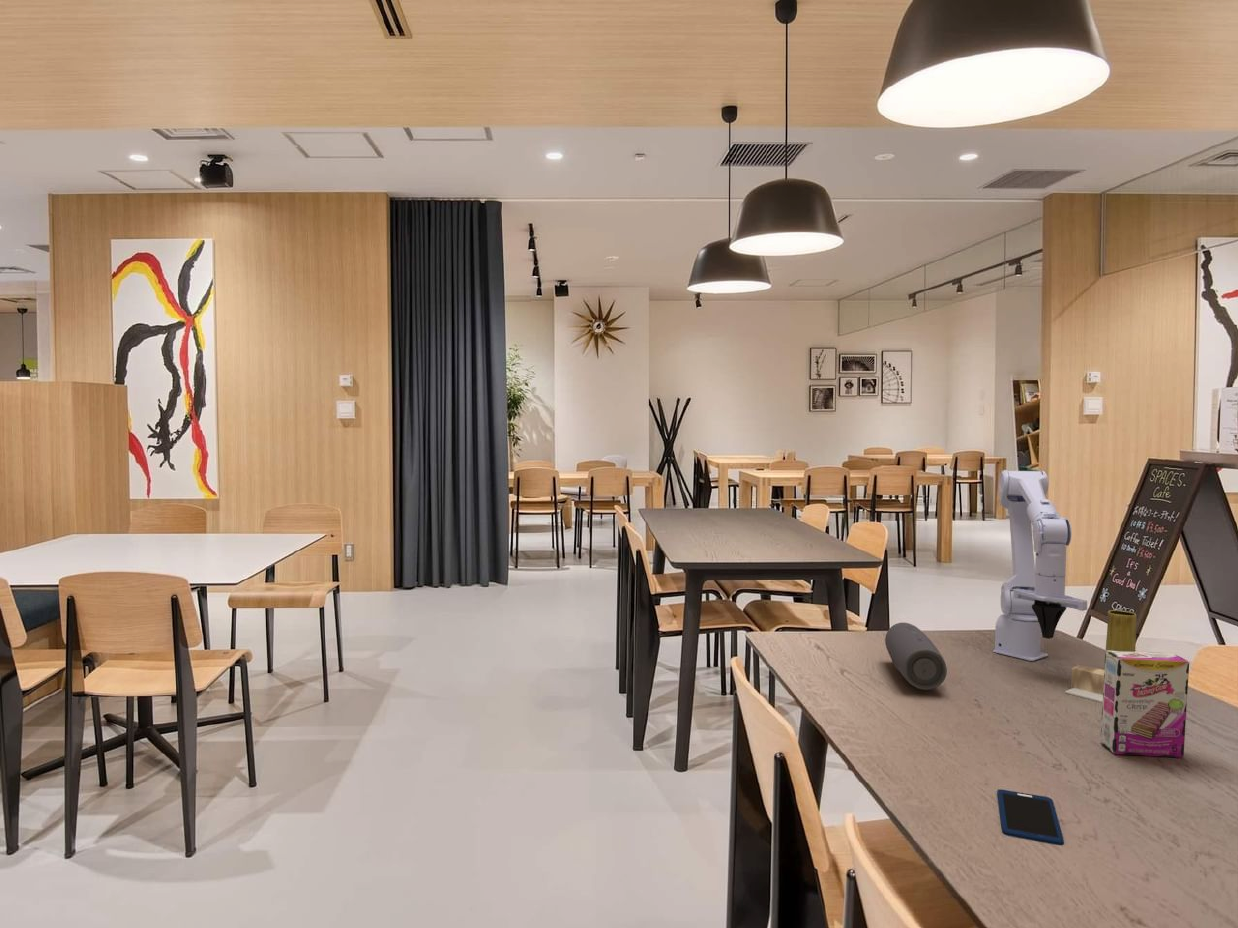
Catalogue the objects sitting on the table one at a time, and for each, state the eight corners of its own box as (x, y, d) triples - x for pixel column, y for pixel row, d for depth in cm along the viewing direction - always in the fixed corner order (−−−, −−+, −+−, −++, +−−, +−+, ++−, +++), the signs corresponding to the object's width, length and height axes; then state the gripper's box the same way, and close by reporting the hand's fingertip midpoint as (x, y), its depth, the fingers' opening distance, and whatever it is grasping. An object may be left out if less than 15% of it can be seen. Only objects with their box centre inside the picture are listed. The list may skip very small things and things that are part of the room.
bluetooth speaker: (949, 697, 160) (951, 648, 159) (901, 694, 161) (902, 645, 161) (924, 664, 182) (925, 620, 182) (882, 661, 183) (883, 618, 183)
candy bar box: (1114, 755, 132) (1118, 657, 131) (1099, 743, 137) (1102, 649, 136) (1186, 759, 131) (1191, 660, 130) (1168, 746, 136) (1172, 651, 135)
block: (1071, 667, 165) (1113, 677, 159) (1080, 664, 168) (1122, 674, 161) (1070, 686, 166) (1113, 697, 159) (1079, 683, 168) (1121, 693, 162)
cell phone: (1052, 802, 116) (1052, 797, 116) (1064, 848, 103) (1065, 842, 103) (996, 792, 119) (996, 787, 119) (1002, 836, 106) (1002, 831, 106)
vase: (1142, 682, 170) (1145, 616, 169) (1113, 682, 170) (1116, 615, 169) (1125, 673, 176) (1127, 609, 175) (1097, 673, 176) (1099, 609, 175)
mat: (1064, 692, 163) (1065, 691, 163) (1091, 681, 170) (1091, 680, 170) (1113, 705, 155) (1113, 703, 155) (1138, 693, 163) (1138, 691, 163)
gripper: (1006, 571, 174) (1005, 632, 175) (1077, 582, 162) (1074, 648, 163) (1023, 567, 178) (1021, 627, 179) (1092, 578, 166) (1090, 642, 167)
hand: (1047, 637), depth 171 cm, fingers closed
